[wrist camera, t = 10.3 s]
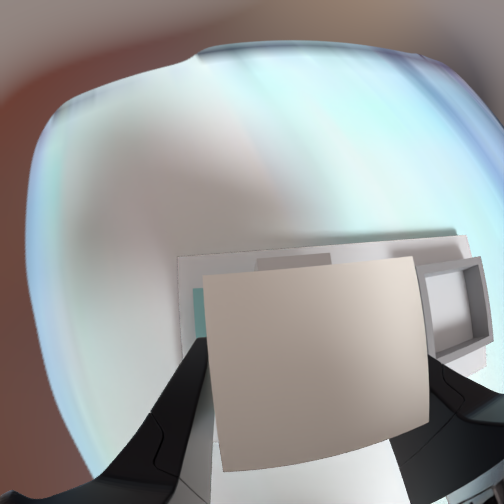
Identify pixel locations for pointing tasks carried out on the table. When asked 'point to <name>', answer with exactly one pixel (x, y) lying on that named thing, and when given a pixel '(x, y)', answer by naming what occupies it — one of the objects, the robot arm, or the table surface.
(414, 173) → the table surface
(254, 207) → the table surface
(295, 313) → the plug
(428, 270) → the socket board
